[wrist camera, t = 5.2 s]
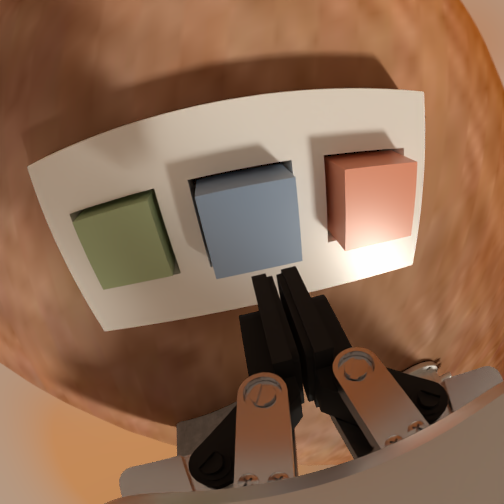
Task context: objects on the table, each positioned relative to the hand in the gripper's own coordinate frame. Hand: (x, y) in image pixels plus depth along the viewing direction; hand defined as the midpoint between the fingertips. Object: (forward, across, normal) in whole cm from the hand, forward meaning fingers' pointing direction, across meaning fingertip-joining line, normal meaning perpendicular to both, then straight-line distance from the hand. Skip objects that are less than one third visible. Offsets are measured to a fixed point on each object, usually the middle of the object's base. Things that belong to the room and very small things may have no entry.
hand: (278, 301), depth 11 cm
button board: (+11, 0, 0) cm, 11 cm away
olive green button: (+10, +8, 0) cm, 13 cm away
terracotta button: (+9, -8, 0) cm, 12 cm away
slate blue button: (+9, 0, 0) cm, 9 cm away
